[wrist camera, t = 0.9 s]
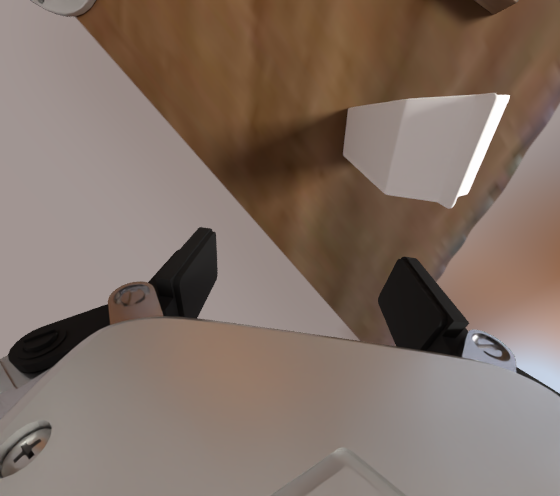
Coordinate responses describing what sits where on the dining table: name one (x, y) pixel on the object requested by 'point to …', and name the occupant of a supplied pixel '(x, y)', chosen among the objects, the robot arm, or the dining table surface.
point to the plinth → (496, 5)
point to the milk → (423, 143)
